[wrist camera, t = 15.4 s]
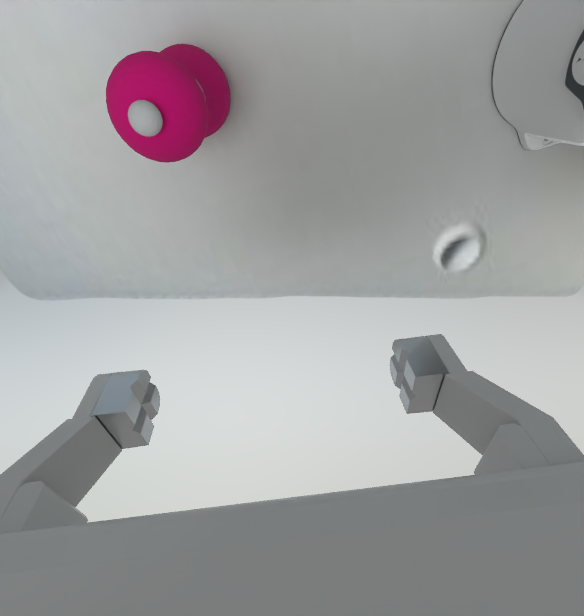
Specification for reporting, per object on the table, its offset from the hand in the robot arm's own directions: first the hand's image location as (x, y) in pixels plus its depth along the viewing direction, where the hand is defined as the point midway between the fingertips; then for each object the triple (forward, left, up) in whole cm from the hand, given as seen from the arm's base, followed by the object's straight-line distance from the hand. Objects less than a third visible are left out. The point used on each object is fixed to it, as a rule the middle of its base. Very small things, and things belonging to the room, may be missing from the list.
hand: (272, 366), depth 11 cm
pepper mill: (+6, -6, -33) cm, 34 cm away
